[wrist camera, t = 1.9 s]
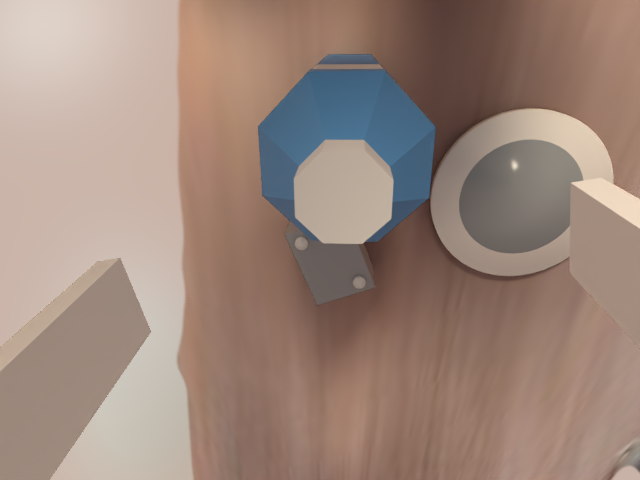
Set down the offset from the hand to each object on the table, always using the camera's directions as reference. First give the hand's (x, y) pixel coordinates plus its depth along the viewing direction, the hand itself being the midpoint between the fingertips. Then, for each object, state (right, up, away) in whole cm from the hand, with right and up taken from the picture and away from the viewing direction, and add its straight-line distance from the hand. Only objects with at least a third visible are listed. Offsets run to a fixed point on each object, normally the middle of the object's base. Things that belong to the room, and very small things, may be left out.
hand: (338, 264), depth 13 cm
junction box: (+1, 0, +33) cm, 33 cm away
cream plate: (+18, +5, +29) cm, 35 cm away
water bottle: (+2, +13, +27) cm, 30 cm away
